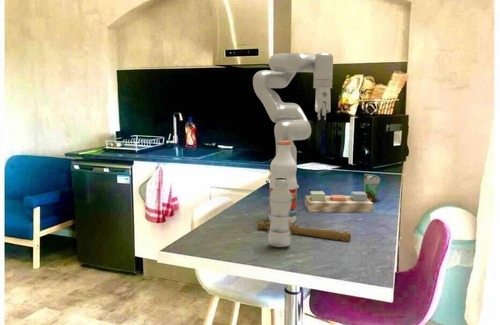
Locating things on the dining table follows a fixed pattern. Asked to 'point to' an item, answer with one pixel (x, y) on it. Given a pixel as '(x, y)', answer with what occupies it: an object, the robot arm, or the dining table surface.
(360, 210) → the button panel
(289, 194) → the plastic bottle
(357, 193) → the slate button
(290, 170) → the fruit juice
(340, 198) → the terracotta button
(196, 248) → the dining table surface
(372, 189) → the food container
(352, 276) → the dining table surface
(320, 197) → the sage button
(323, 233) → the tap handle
